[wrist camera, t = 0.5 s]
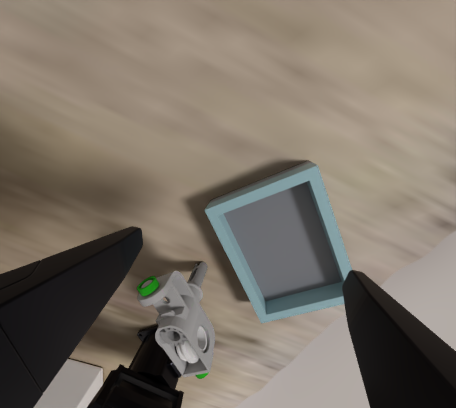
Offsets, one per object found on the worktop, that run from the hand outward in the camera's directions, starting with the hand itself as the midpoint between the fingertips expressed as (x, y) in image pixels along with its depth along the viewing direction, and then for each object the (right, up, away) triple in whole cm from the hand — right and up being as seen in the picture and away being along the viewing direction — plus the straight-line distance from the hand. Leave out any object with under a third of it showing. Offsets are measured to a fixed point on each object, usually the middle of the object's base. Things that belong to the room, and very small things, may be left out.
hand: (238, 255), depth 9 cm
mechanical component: (-4, -6, +18) cm, 19 cm away
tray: (+6, -2, +15) cm, 16 cm away
